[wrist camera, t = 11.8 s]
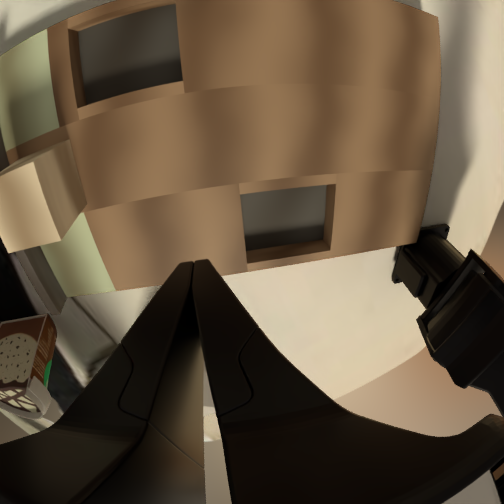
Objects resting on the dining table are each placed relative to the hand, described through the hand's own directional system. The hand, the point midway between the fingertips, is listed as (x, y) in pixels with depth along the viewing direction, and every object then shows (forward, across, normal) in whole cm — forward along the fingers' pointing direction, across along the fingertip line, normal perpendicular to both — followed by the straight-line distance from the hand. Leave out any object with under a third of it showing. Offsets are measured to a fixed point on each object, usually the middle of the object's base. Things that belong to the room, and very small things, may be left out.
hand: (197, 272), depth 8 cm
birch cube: (+10, +10, -2) cm, 14 cm away
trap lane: (+12, -2, -2) cm, 12 cm away
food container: (+12, +23, +15) cm, 30 cm away
